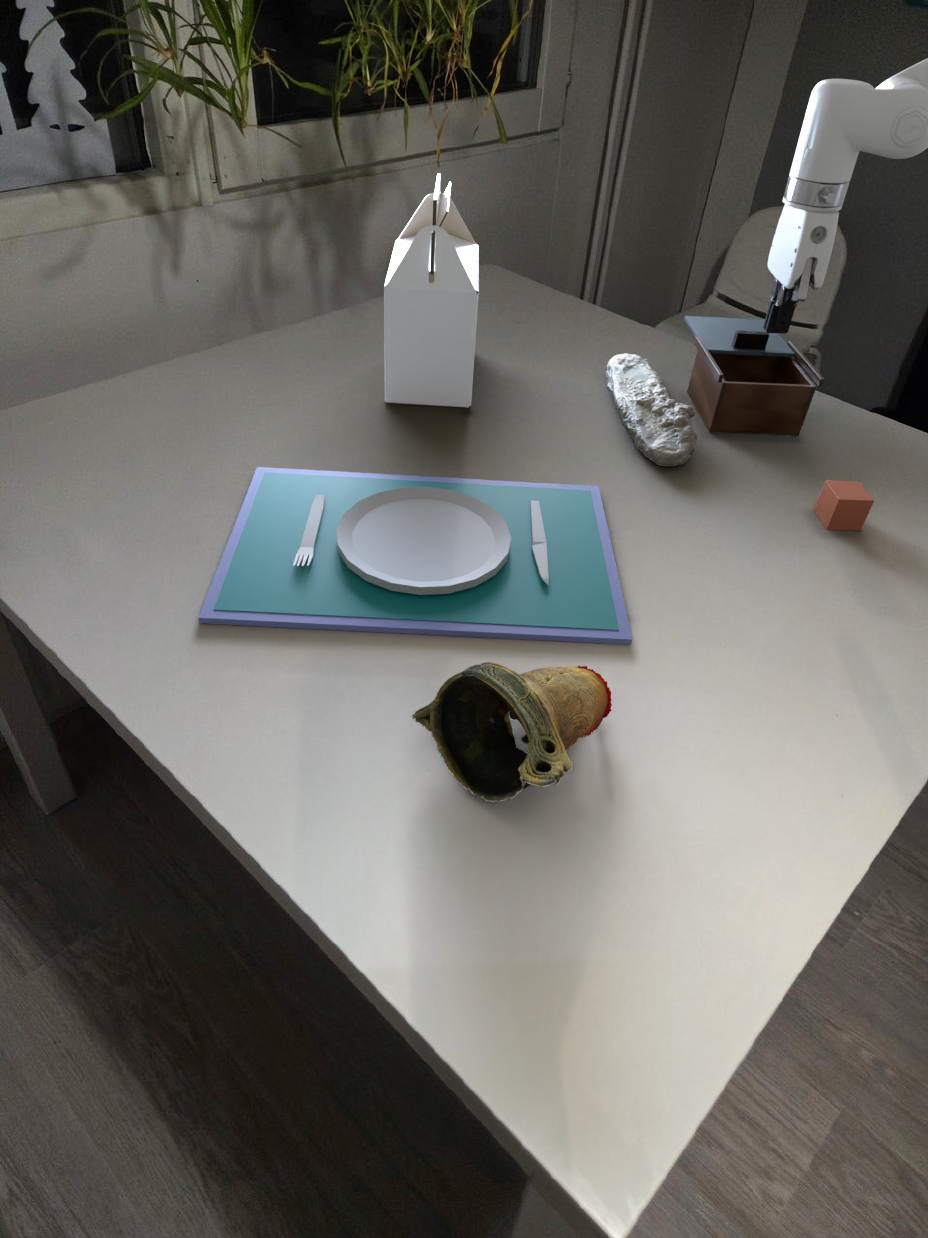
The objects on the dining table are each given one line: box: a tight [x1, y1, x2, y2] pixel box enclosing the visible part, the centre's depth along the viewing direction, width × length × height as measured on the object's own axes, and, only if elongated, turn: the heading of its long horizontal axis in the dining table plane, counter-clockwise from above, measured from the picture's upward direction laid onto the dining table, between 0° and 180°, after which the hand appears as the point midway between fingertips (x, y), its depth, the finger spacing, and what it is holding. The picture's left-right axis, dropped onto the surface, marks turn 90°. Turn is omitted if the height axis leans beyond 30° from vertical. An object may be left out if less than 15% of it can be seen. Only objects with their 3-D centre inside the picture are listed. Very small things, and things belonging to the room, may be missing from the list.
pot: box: [411, 661, 613, 803], centre depth 72 cm, size 17×11×18 cm
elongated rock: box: [605, 352, 698, 467], centre depth 126 cm, size 35×5×10 cm
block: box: [813, 479, 875, 532], centre depth 106 cm, size 5×5×5 cm
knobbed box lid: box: [684, 315, 795, 358], centre depth 131 cm, size 14×14×3 cm
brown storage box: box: [686, 337, 825, 437], centre depth 127 cm, size 16×14×9 cm
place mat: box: [198, 466, 634, 646], centre depth 96 cm, size 45×30×2 cm
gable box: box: [383, 173, 480, 409], centre depth 125 cm, size 22×13×28 cm, turn 179°
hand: (775, 330), depth 119 cm, fingers closed
